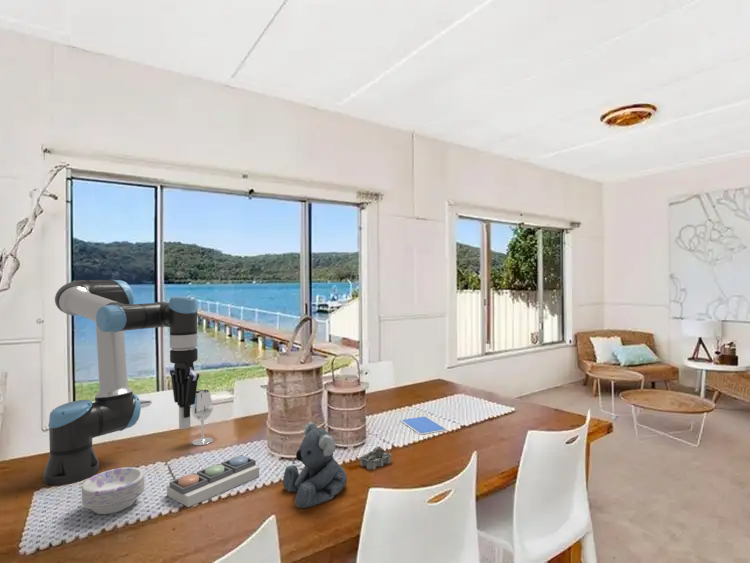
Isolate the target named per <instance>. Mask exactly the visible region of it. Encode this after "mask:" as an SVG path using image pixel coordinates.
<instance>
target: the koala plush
mask: <svg viewBox="0 0 750 563" xmlns="http://www.w3.org/2000/svg"><path fill="white" fill-rule="evenodd" d="M303 431H304V437H303V439H302V441H301V444H300V446H299V448H298V450H297V451H296V454H295V459H297V461H299V462H301V463H302V464H303V465H304V467H303V468H302V469H301V471H300V473H299V469H298V467H297V466H296V465H295V464H291V465H287V466H285V469H284V473H283V479H282V486H283V488H284V489H285V491H287V492H289V493H296V496H295V498H294V504H295V506H296V507H297V508H298V509H300V508H302V509H306V508H312V507H314V506H318V505H319V504H322V503H323V502H330V501H331V500H333V499H334V498H335V496H337V495H338V494H339V493H340V492H342V491H343V489H344V488H345V487H346V485H347V482H348V477H347V474H346V471H345V469H344V468H343V466H341V465H340V463H339V462H337V461H336V459H334V452H335V451H336V443H335V439H334V436H332V435H331V434H329V432H327V431H326V430H325V429H323V428H318V426H317V425H316V424H315V423H313V422H312V421H309V422H308V423H306V424H305V425H304V429H303Z"/></svg>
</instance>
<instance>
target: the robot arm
mask: <svg viewBox="0 0 750 563" xmlns="http://www.w3.org/2000/svg"><path fill="white" fill-rule="evenodd" d="M54 303H55V306H56V307H57V309H58V310H59V311H60V312H62V313H64V314H66V315H70V316H80V317H83V318H85V319H88V320H91V321H93V322H94V323H95V333H96V348H97V350H96V352H97V367H98V385H99V391H98V392H97V393H96V394H95V396H94V402H92V401H91V399H80V400H75V401H70V402H67V403H63V404H61V405H58V406H57V407H55V408H54V409H53V410H51V412H50V413H49V420H48V429H49V433H48V434H49V436H48V437H49V456H48V459H47V463H46V465H45V468H44V471H43V475H42V476H43V477H42V478H43V483H44V484H45V485H50V486H58V485H59V486H60V485H67V484H72V483H76V482H80V481H82V480H86V479H89V478H91V477H92V476H95V475H96V473H97V474H98V472H99V470H100V462H99V459H98V456H97V455H96V453H95V450H94V448H93V438H97V437H100V436H105V435H108V434H112V433H115V432H121V431H124V430H127V429H129V428H132V427H133V426H135V425H136V424H137V422H138V421H139V418H140V416H141V410H142V407H141V401H140V398H139V396H138V395H137V394H135V393H134V392H133V389H132V388H130V387H129V386H128V375H127V374H128V373H127V358H126V342H125V341H126V339H125V331H135V330H143V329H145V330H147V329H153V328H154V329H157V328H169V348H170V351H169V362H170V363H172V364H174V366H173V369H170V370H169V375H170V378H171V384H172V392H173V393H172V394H173V401H174V403H176V404H177V406H178V429H180V430H184V429H185V430H186V429H188V428H191V407H192V405H193V404H195V398H196V391H197V388H198V381H199V379H200V374H199V373H196V372H195V366H194V363H195V362H197V361H198V358H199V357H198V356H199V354H198V348H197V346H198V339H199V337H198V309H199V308H198V306H197V305H198V301H197V299H196V297H195V296H190V295H189V296H187V295H186V296H185V295H183V296H172V297H170V298H169V302H165V301H156V302H151V303H150V302H149V303H135V296H134V293H133V289H132V288H131V286H130V285H129V283H128V282H126V281H124V280H121V279H120V280H117V279H96V280H93V279H90V280H89V279H88V280H86V279H85V280H84V279H82V280H80V279H79V280H73V281H70V282H68V283H66V284H64V285H62V286H61V287H60V288H59V289H58V290H57V292H56V294H55V296H54Z"/></svg>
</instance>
